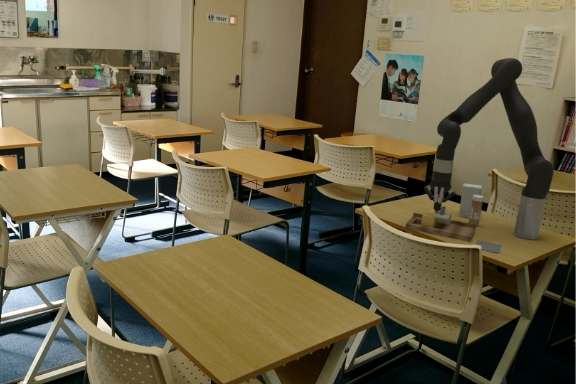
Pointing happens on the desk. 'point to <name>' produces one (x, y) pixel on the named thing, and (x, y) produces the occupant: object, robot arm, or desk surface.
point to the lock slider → (443, 216)
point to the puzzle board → (444, 228)
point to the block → (428, 220)
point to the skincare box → (468, 198)
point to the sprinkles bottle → (476, 209)
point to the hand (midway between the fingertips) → (436, 210)
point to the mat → (489, 246)
